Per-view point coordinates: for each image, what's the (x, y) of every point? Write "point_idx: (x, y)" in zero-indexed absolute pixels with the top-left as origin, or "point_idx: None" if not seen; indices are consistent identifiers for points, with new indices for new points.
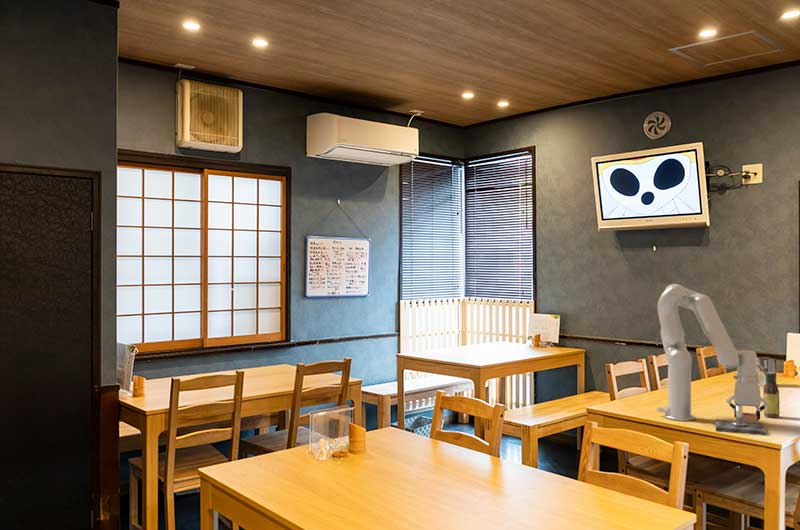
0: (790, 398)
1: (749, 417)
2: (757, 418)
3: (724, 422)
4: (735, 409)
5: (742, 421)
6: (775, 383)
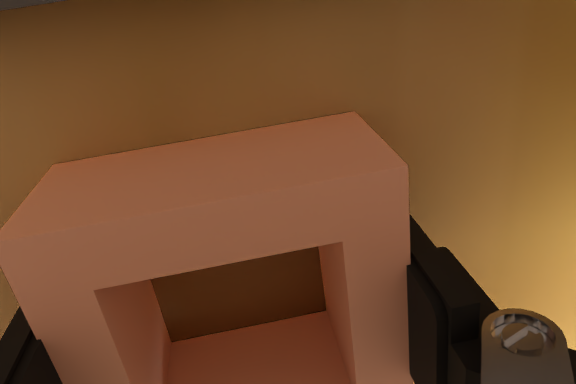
0: None
1: (171, 196)
2: None
3: None
4: (516, 328)
5: (299, 133)
6: None
